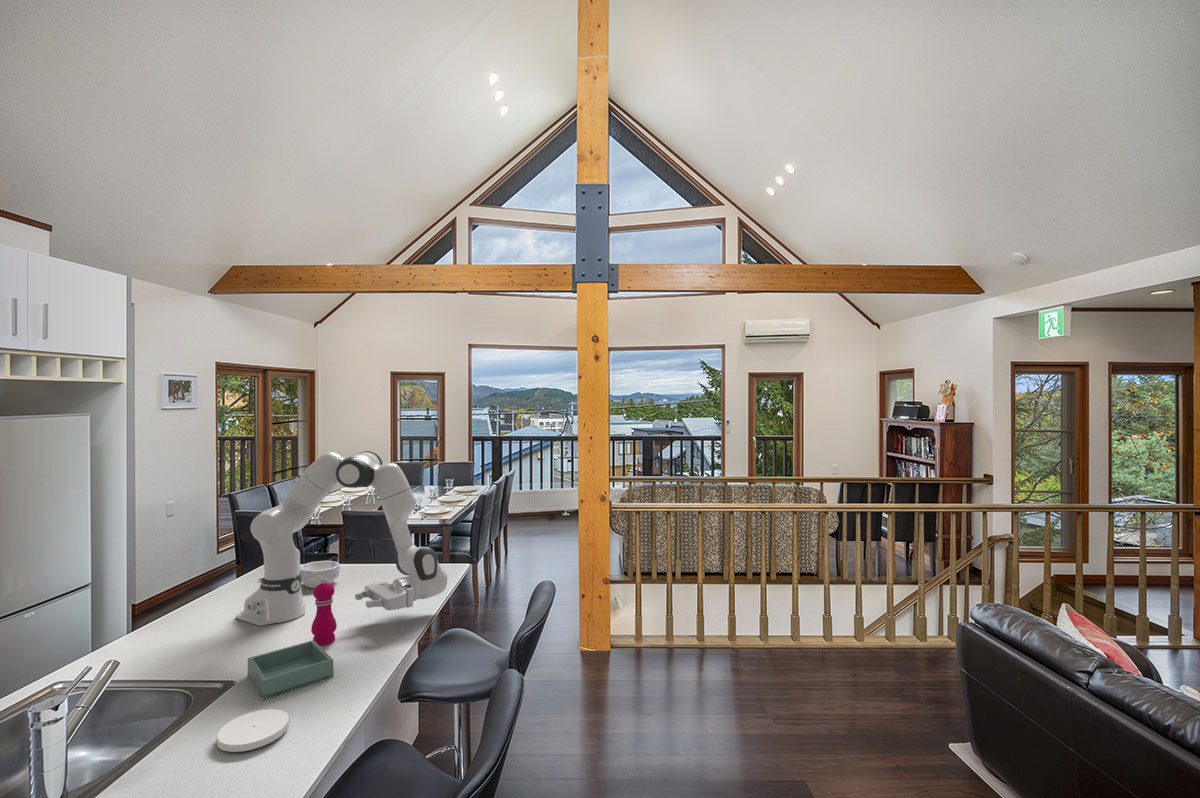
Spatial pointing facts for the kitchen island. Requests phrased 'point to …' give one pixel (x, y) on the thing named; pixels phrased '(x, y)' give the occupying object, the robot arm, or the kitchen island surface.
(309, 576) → the white bowl
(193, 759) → the kitchen island surface
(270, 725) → the plastic lid
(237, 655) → the kitchen island surface
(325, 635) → the pepper mill
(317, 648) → the tote
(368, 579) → the kitchen island surface
